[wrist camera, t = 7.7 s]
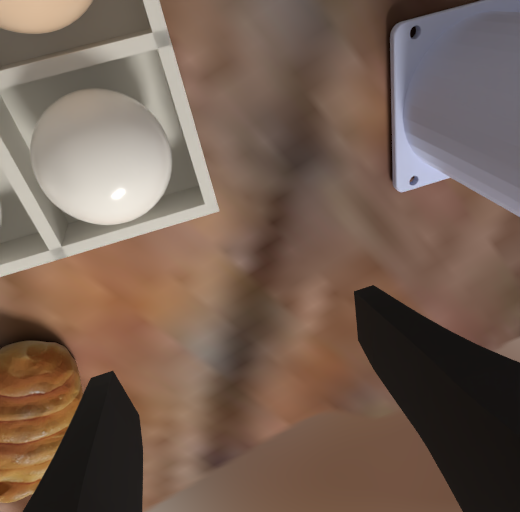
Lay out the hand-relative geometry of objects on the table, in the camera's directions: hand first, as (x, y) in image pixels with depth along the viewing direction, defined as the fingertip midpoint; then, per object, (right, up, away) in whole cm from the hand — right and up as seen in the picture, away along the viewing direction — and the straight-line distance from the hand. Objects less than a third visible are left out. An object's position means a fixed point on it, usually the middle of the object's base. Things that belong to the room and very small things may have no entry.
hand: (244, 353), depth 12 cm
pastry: (-13, -5, +12) cm, 19 cm away
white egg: (-6, +8, +5) cm, 11 cm away
